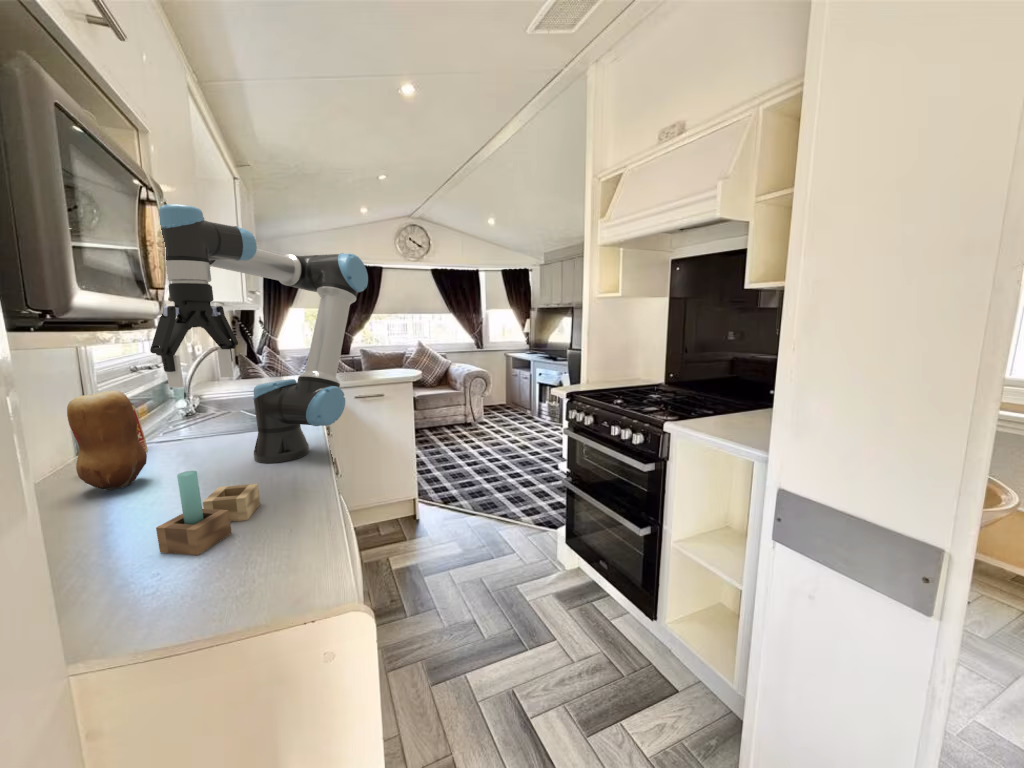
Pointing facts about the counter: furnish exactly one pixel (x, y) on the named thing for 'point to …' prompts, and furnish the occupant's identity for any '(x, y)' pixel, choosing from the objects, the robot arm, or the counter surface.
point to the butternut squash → (106, 440)
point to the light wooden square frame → (235, 500)
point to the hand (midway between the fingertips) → (203, 381)
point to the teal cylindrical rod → (190, 497)
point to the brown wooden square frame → (193, 533)
